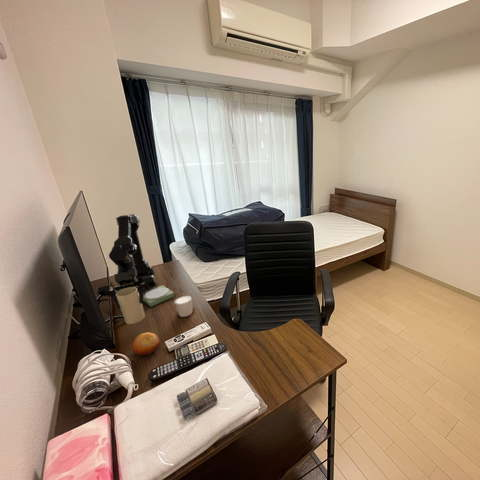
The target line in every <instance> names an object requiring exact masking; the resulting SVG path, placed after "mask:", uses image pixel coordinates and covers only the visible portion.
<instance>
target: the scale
mask: <svg viewBox="0 0 480 480" xmlns="http://www.w3.org/2000/svg"><path fill="white" fill-rule="evenodd" d="M174 297H175V292H173V290H171V289H170V288H167V287H166V286H165V285H159V286H156V287H154V288H150V289H149V290H147V292H146V293H145V296H144V299H143V302H144V303H145V304H147V305H148V306H149V307H150V308H151V307H154V306H156V305H159V304H161V303H163V302H166V301H167V300H169V299H172V298H174Z"/></svg>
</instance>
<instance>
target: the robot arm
mask: <svg viewBox="0 0 480 480" xmlns="http://www.w3.org/2000/svg"><path fill="white" fill-rule="evenodd" d="M115 221H116V224H117V226H118V230H117V231H118V233H117V239H115V240H114V242H113V246H112V248H111V251H110V252H109V254H108V257H109V259H110V260H111V261H112V263H114V264H115V266H117V272H116V273H114V274H113V276H114V282H115V283H116V284H117V285H112V284H110V283H108V284H103V285H99V286H97V288H96V293H97V295H99V296H100V297H110V298H112V300H113V301H114V303H115V305H116V307H117V308H118V309H119V310H121V309H120V306H119V303H118V300H117V297H116V293H117V292H118V291H120V290H122V289H125V288H128V287H136V288H137V289H139V296H140V303H141V304H142V305H143V302H144V301H143V299H144V296H145V293H146V292H147V291H149V290H150V289H151V288H153V287H155V286H156V285H157V284H158V283H157V279H156V278H155V276H154V275H155V272H154V269H153V268H152V267H151V265H149V262H148V261H147V260H146V259H145V258H144V255H143V252H142V247H141V244H140V238H139V235H138V230H139V229H140V223H141V221H140V217H139V215H136V214H135V213H133V214H124V215H123V214H122V215H119V216H117V217H115ZM148 289H149V290H148Z"/></svg>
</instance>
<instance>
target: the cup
mask: <svg viewBox="0 0 480 480" xmlns="http://www.w3.org/2000/svg"><path fill="white" fill-rule="evenodd" d="M138 289H139V288H138V287H137V286H135V287H128V288H125V289H121V290H117V291H116V292H117V293H116V297H117V300H118V303H119V306H120V309H119V310H120V312H121V314H122V317H123V320H124V323H125V324H127V325H133V324H136V323H137V324H138V323H139V322H141V321H143V320H144V319H145V318H146V312H145V309H144V305H143V303H142V304H141V303H140V292H139V290H138Z"/></svg>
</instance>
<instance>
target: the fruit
mask: <svg viewBox="0 0 480 480" xmlns="http://www.w3.org/2000/svg"><path fill="white" fill-rule="evenodd" d="M159 345H160V339H159V337H158V335H157V334H156V333H153V332H151V331H149V332H148V331H147V332H143V333H139V334H138V335H137V336H136V337H135V339H134V340H133V342H132V343H131V348H132V350H133V352H134V353H135V354H134V355H139V356H149V355H151V354H152V353H153V352H154V351H155V350H156V349H157V348H158V346H159Z"/></svg>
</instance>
